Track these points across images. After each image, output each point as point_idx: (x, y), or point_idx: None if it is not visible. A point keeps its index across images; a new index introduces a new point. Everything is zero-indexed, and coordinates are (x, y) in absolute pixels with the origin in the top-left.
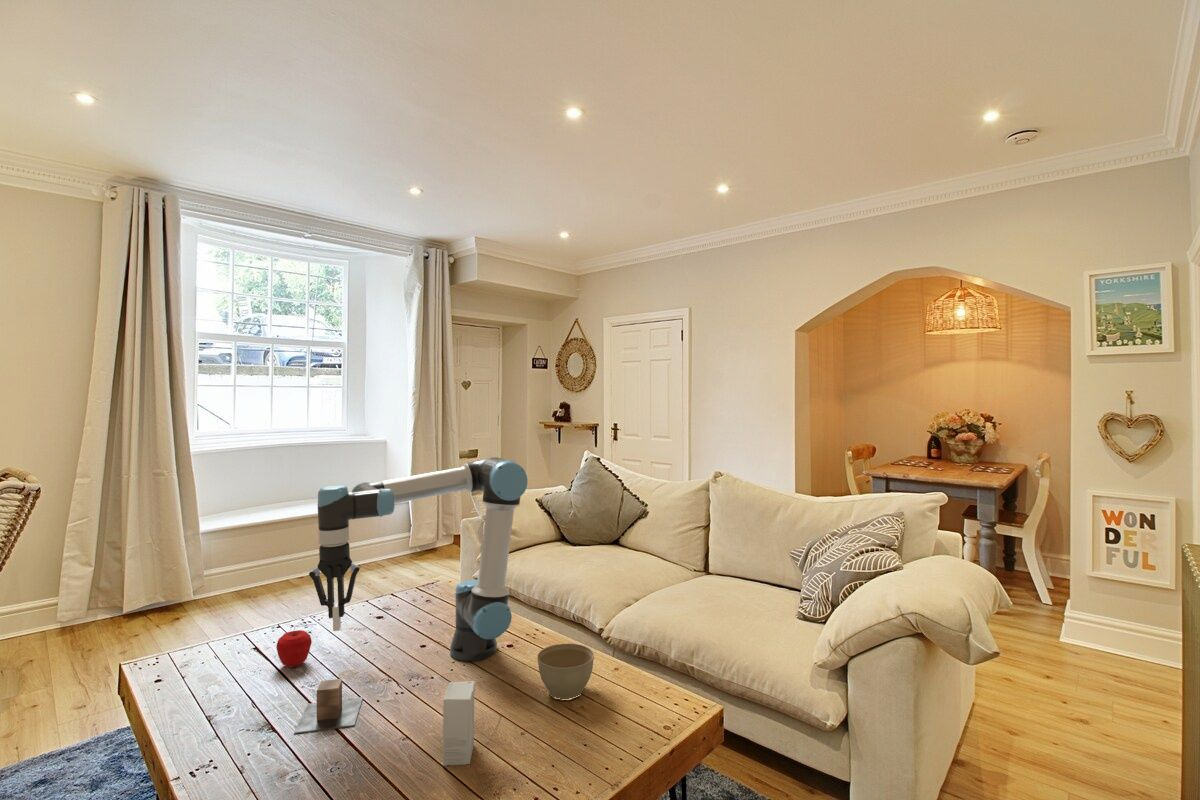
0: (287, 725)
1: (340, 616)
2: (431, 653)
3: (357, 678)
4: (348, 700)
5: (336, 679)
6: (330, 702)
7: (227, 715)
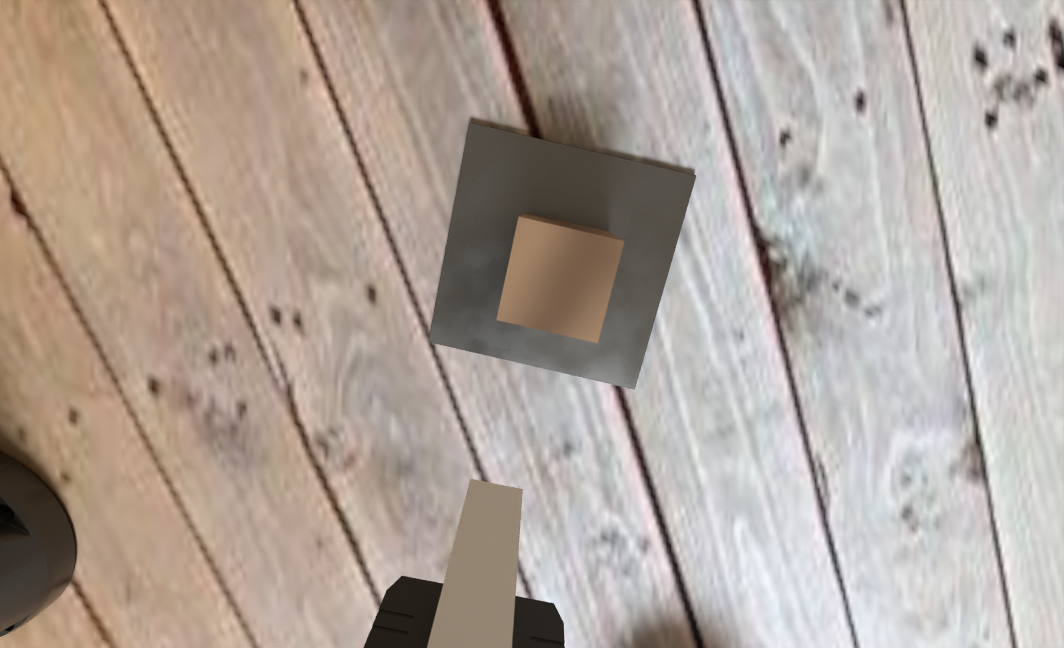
0: (714, 260)
1: (427, 585)
2: (153, 590)
3: (443, 515)
4: (483, 339)
5: (523, 323)
6: (557, 222)
7: (915, 447)
